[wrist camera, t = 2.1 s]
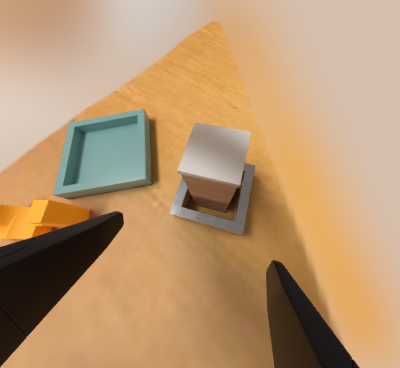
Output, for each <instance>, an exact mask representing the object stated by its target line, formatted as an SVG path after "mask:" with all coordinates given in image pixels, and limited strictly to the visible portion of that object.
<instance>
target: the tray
mask: <svg viewBox="0 0 400 368" xmlns="http://www.w3.org/2000/svg"><path fill="white" fill-rule="evenodd" d="M148 185H152V168H151V143H150V119H149V117H148V116H147V114H146V112H145V110H144V109H141V110H136V111H131V112H125V113H120V114H115V115H109V116H104V117H98V118H93V119H88V120H82V121H77V122H71V123H69V127H68V131H67V136H66V140H65V145H64V149H63V154H62V158H61V163H60V167H59V172H58V176H57V181H56V185H55V190H54V194H53V195H55V196H58V197H62V198H65V199H74V198H80V197H85V196H91V195H97V194H102V193H108V192H114V191H119V190H125V189H131V188H136V187H142V186H148Z"/></svg>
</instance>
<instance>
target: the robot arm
mask: <svg viewBox="0 0 400 368" xmlns="http://www.w3.org/2000/svg"><path fill="white" fill-rule="evenodd" d="M123 224H124V220H123V214H122V213H121V212H117V211H115V212H111V213H108V214H105V215H102V216H99V217H96V218H92V219H89V220H86V221H83V222H80V223H76V224H73V225H70V226H67V227H64V228H61V229H57V230H54V231H51V232H48V233H45V234H41V235H38V236H37V237H36V236H35V237H32V238H29V239H25V240H22V241H19V242H16V243H12V244H9V245H5V246H2V247H0V367H1V366H2V364H3V363H4V362H5V361H6V360H7V359H8V358H9V357H10V355H11V354H12V353H13V352H14V351H15V350H16V349H17V348H18V347H19V345H20V344H21V343H22V342H23V341H24V340H25V339H26V337H27V336H28V335H29V334H30V333H31V332H32V331H33V330H34V329H35V327H36V326H37V325H38V324H39V323H40V322H41V321H42V320H43V318H44V317H45V316H46V315H47V314H48V313H49V312H50V311H51V310H52V308H53V307H54V306H55V305H56V304H57V303H58V302H59V301H60V299H61V298H62V297H63V296H64V295H65V294H66V293H67V292H68V291H69V289H70V288H71V287H72V286H73V285H74V284H75V283H76V282H77V281H78V279H79V278H80V277H81V276H82V275H83V274H84V273H85V272H86V270H87V269H88V268H89V267H90V266H91V265H92V264H93V263H94V262H95V260H96V259H97V258H98V257H99V256H100V255H101V254H102V253H103V251H104V250H105V249H106V248H107V247H108V245H109V244H110V243H111V241H112V240H113V239H114V237H115V236H116V235H117V233H118V232H119V231H120V229H121V228H122V227H123ZM266 281H267V309H268V318H269V326H270V334H271V342H272V350H273V358H274V366H275V368H359V366H358V365H357V364H356V362H355V361H354V360H352V357H351V356H350V354H349V353H348V352H347V350H346V349H345V348H344V346H343V345H342V344H341V342H340V341H339V339H338V338H337V337H336V335H335V334H334V333H333V331H332V330H331V329H330V327H329V326H328V325H327V323H326V322H325V321H324V319H323V318H322V317H321V315H320V314H319V312H318V311H317V310H316V308H315V307H314V306H313V304H312V303H311V302H310V300H309V299H308V298H307V296H306V295H305V294H304V292H303V291H302V290H301V288H300V287H299V285H298V284H297V283H296V281H295V280H294V279H293V277H292V276H291V275H290V273H289V272H288V271H287V269H286V268H285V267H284V265H283V264H282V263H281V262H278V261H275V260H273V261H272V262H271V264H270V265H269V267H268V269H267V272H266Z"/></svg>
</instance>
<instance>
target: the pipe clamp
mask: <svg viewBox="0 0 400 368" xmlns="http://www.w3.org/2000/svg"><path fill="white" fill-rule="evenodd" d="M90 211H91V210H89V209H85V208H80V207H76V206H72V205H68V204H64V203H59V202H55V201H51V200H34V201H33V204H32V206H31V207H18V206H7V205H0V239H29V238H32V237H35V236H36V237H37V236H38V235H41V234H45V233H48V232H51V230H52V227H67V226H70V225H73V224H76V223H80V222H83V221H86V220H88V219H89V215H90Z"/></svg>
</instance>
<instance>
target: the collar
mask: <svg viewBox="0 0 400 368" xmlns="http://www.w3.org/2000/svg"><path fill="white" fill-rule="evenodd" d="M254 170H255V166H254V165H249V164H244V169H243V173H242V178H241V183H240V187H239V191H238V196H237V201H236V206H235V211H234V216H233V221H230V220H227V219H223V218H219V217H216V216H212V215H208V214H205V213H201V212H198V211H194V210H190V209H187V208H186V207H187V204H188V201H189V197H190V192H189V189H188V187H187V185H186V183H185V181H184V179H183V177H182V179H181V182H180V185H179V188H178V191H177V194H176V196H175V199H174V202H173V205H172V208H171V211H170V214H171V215H173V216H175V217H177V218H181V219H184V220H188V221H191V222H195V223H198V224H202V225H205V226H208V227H212V228H215V229H219V230H222V231H226V232H229V233H233V234H236V235H243V232H244V226H245V221H246V215H247V209H248V204H249V198H250V192H251V187H252V181H253V175H254Z"/></svg>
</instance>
